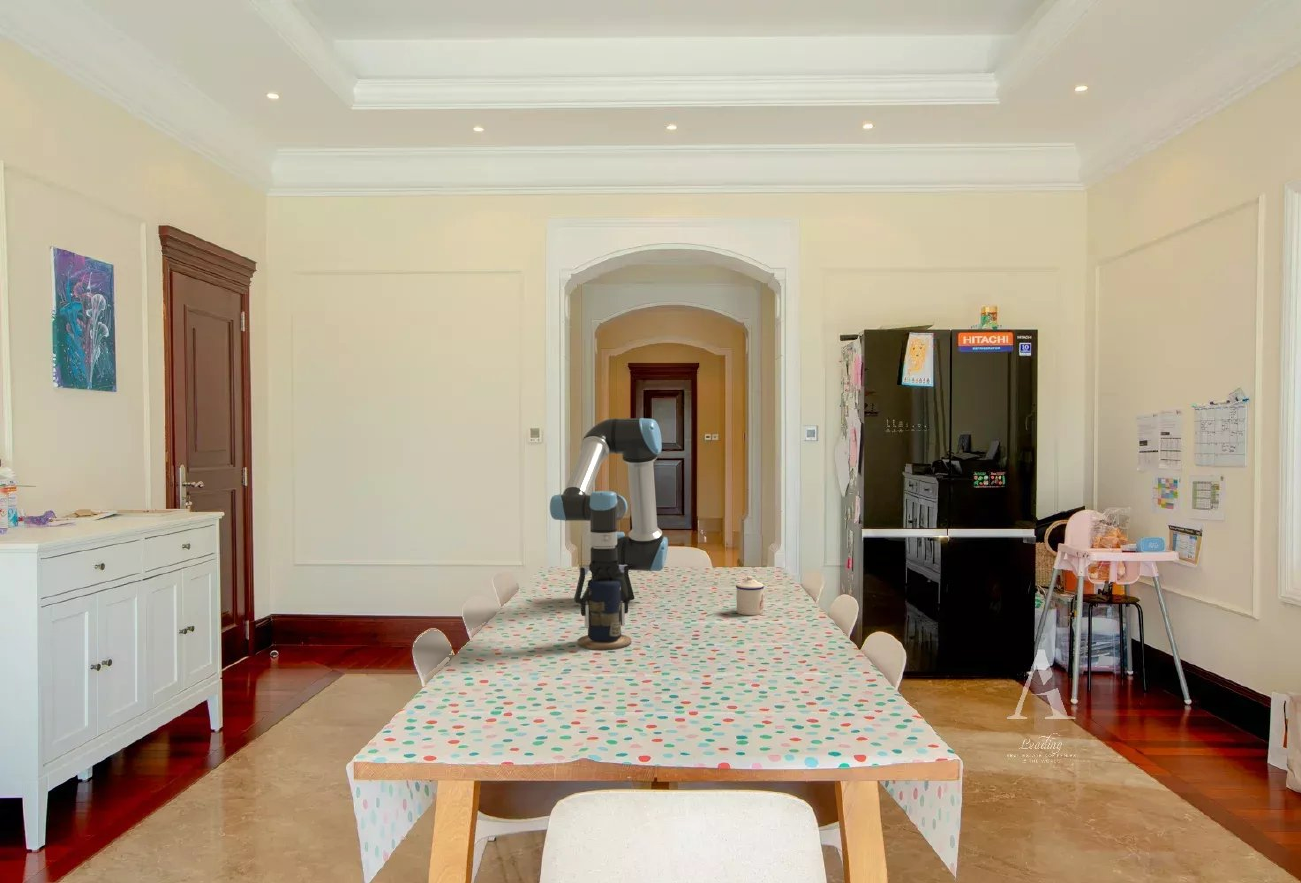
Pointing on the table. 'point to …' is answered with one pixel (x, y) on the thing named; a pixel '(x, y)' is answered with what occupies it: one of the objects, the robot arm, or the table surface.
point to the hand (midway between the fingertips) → (604, 626)
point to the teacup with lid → (749, 597)
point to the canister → (604, 610)
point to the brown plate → (604, 643)
